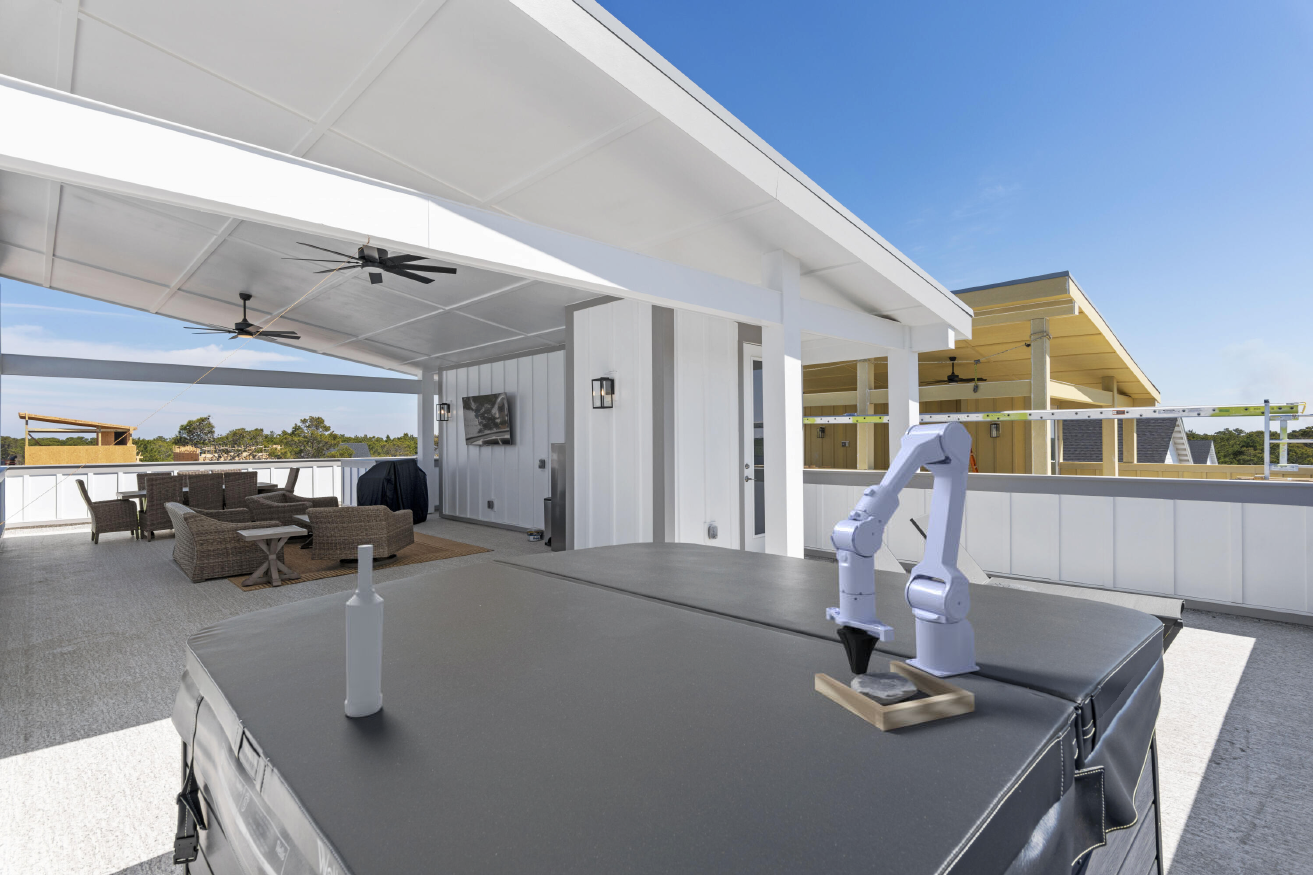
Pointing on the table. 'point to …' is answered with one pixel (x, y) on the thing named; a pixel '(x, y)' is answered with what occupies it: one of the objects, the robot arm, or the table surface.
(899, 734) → the table surface
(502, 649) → the table surface
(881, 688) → the fossil
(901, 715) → the bay
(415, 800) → the table surface
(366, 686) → the bottle
